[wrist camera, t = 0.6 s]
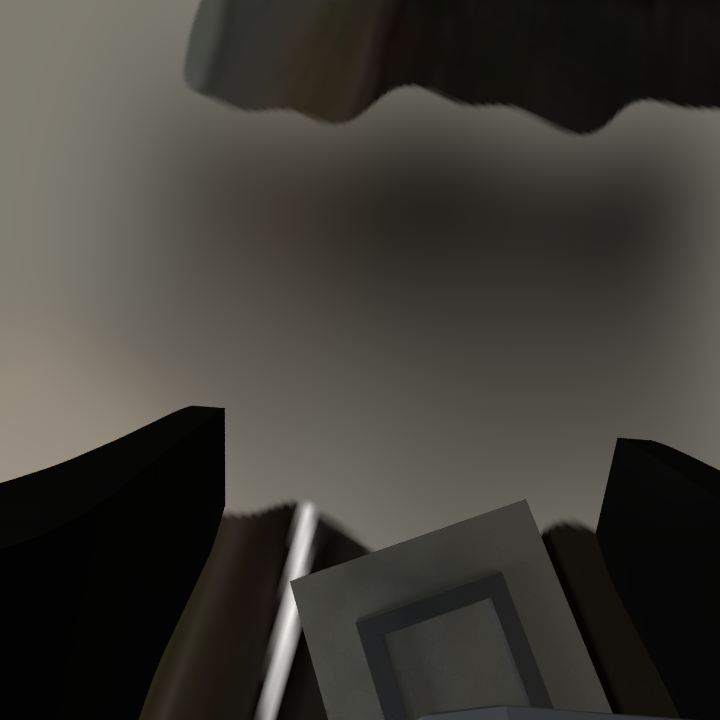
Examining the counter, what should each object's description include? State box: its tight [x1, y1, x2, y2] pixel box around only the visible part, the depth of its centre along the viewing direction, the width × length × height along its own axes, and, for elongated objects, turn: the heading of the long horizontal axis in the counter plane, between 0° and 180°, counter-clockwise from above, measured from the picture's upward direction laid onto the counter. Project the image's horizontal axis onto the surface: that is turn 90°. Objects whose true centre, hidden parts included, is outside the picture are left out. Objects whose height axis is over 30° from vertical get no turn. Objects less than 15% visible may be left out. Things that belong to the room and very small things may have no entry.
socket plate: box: [290, 499, 612, 720], centre depth 32 cm, size 14×14×3 cm
